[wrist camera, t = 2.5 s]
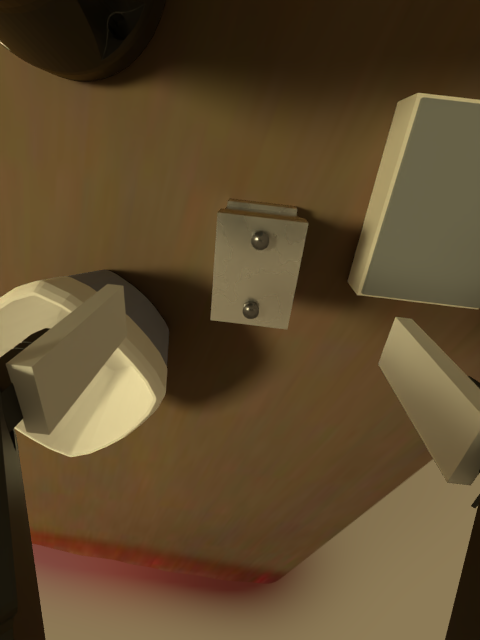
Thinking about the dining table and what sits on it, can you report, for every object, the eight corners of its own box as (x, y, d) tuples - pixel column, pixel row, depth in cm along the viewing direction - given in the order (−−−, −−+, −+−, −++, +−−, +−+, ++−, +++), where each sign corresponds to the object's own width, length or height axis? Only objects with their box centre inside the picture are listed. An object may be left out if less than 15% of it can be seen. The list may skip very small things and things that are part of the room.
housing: (223, 280, 32) (209, 323, 23) (229, 198, 28) (216, 213, 20) (280, 287, 32) (287, 333, 23) (295, 206, 28) (309, 224, 20)
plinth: (347, 281, 31) (358, 297, 27) (397, 101, 24) (421, 91, 21) (456, 294, 31) (481, 311, 27) (537, 117, 24) (586, 110, 20)
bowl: (18, 312, 35) (-77, 371, 25) (103, 226, 30) (25, 256, 20) (120, 397, 40) (74, 474, 30) (207, 334, 35) (186, 403, 25)
